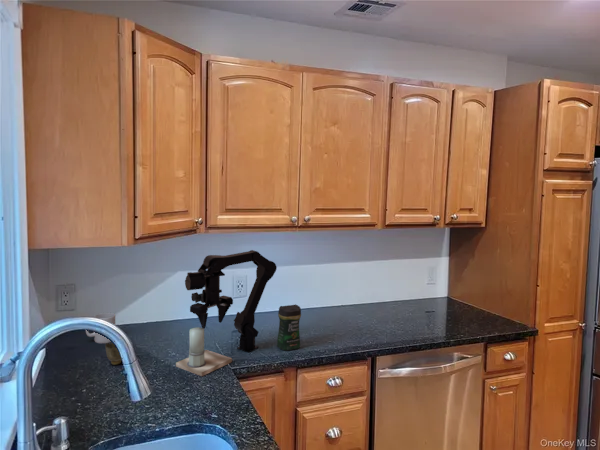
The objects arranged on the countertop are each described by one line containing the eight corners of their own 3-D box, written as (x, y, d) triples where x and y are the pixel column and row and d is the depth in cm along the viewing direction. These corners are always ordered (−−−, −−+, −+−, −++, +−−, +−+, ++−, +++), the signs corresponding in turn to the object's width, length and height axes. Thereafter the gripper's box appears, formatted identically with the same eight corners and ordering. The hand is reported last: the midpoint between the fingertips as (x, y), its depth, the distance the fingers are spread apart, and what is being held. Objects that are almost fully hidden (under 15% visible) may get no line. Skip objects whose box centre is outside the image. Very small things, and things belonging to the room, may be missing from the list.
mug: (112, 335, 199) (112, 311, 198) (118, 340, 193) (117, 316, 192) (83, 340, 192) (83, 316, 191) (88, 346, 185) (88, 321, 184)
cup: (120, 358, 175) (120, 338, 174) (130, 363, 170) (130, 343, 169) (101, 363, 169) (101, 343, 168) (111, 369, 165) (111, 348, 164)
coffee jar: (282, 352, 185) (283, 309, 183) (274, 346, 192) (275, 304, 190) (303, 348, 190) (304, 306, 188) (294, 342, 196) (295, 301, 194)
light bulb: (197, 358, 172) (197, 326, 171) (207, 362, 169) (207, 329, 167) (185, 363, 167) (185, 330, 166) (196, 367, 164) (196, 333, 163)
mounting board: (206, 353, 182) (206, 342, 181) (231, 361, 174) (232, 350, 174) (175, 366, 169) (175, 354, 168) (201, 376, 161) (201, 363, 160)
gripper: (214, 280, 188) (214, 315, 190) (180, 288, 172) (180, 327, 174) (234, 284, 182) (233, 321, 183) (200, 293, 166) (200, 333, 168)
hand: (212, 325), depth 177 cm, fingers open, 9 cm apart
